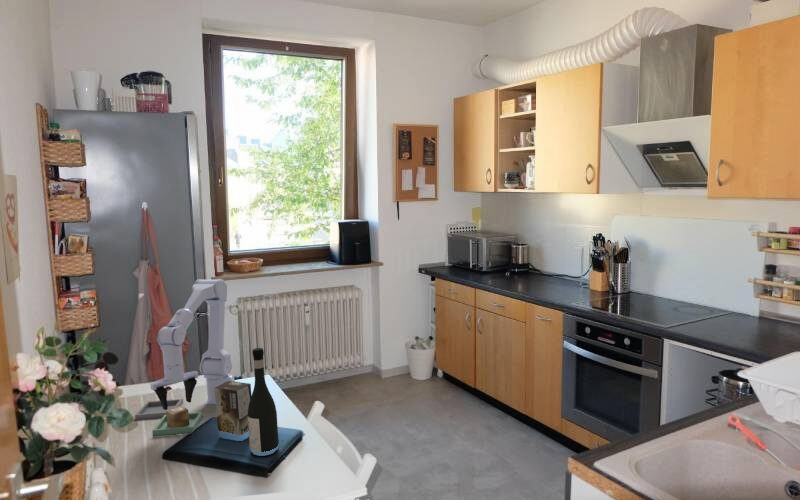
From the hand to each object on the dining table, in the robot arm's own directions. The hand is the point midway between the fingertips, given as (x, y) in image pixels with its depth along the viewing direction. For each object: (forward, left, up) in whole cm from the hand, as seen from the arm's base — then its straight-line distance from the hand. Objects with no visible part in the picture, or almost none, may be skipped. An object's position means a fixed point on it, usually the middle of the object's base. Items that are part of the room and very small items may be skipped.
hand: (177, 405), depth 176 cm
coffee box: (-20, +11, -7) cm, 24 cm away
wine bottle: (-30, +23, -7) cm, 39 cm away
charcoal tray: (+10, -14, -7) cm, 19 cm away
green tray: (0, 0, -7) cm, 7 cm away
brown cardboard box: (0, 0, -7) cm, 7 cm away
